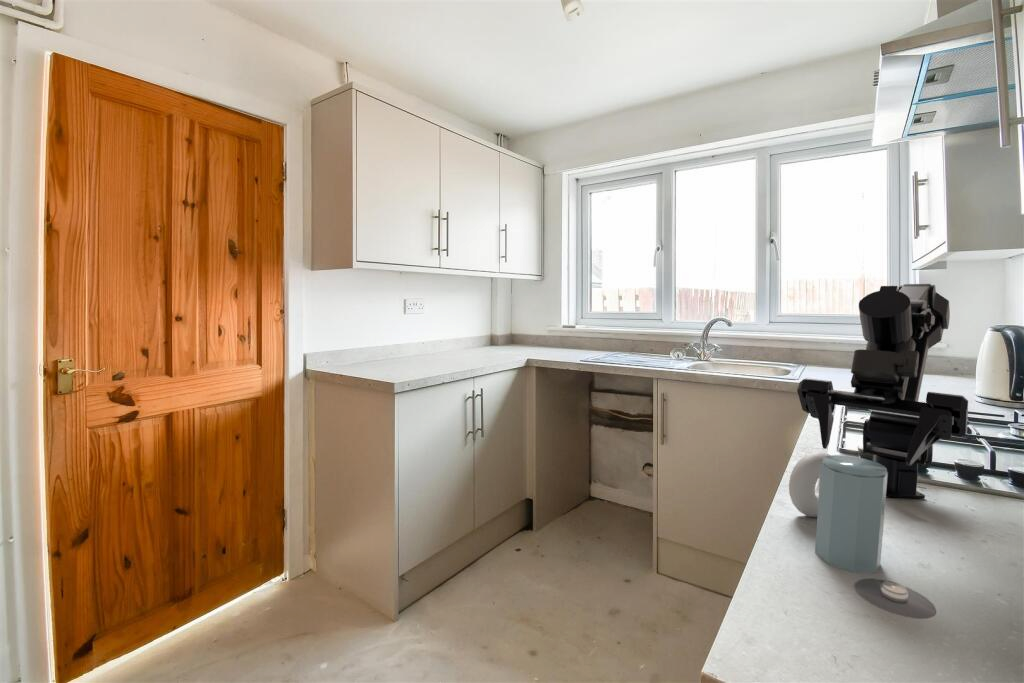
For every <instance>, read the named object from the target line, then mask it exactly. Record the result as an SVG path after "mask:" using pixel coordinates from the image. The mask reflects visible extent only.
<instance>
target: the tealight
mask: <svg viewBox="0 0 1024 683" xmlns="http://www.w3.org/2000/svg"><path fill="white" fill-rule="evenodd" d="M905 587H906V586H905ZM905 587H904V585H903V584H900V583H897V582H895V581H891V580H890V581H889V580H885V581H884V582H883V583H882V584H881V587H880V594H881V596H882V597H884V598H885V599H887V600H889V601H892V602H895V603H899V604H906V603H907V602H908V591H907V589H906V588H905Z"/></svg>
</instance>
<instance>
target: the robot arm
mask: <svg viewBox="0 0 1024 683" xmlns="http://www.w3.org/2000/svg"><path fill="white" fill-rule="evenodd" d="M936 290H937V289H936V285H935V284H931V283H904V284H903V285H902V284H901V285H880V287H879V290H877V291H873V292H870V293H868V294H866V295H865V296H864V297H863V298H862V299H860V300H859V301H858V312H859V319H860V325H861V332H862V336H863V339H864V340H865V341H866V342H867V343H866V347H865V349H855V350H854V351H853V358H852V362H851V363H852V364H851V369H850V373H851V374H852V375H851V376H852V377H851V380H850V386H851V388H853V389H854V390H853V391H844V390H838V389H837V390H836V389H834V386H833V382H832V380H827V379H818V378H817V379H816V378H815V379H814V378H808V377H807V378H806V377H805V378H803V379H802V380H800V381H799V384H798V386H797V390H796V391H797V395H798V399H799V401H800V406H801V409H802V411H803V412H806V413H807V414H809V415H810V416H811V417H812V418H813V419H817V420H818V423H819V430H820V431H819V432H820V440H821V446H822V449H825V450H826V449H827V448H828V446H829V444H830V440H831V434H832V431H833V430H832V429H833V424H834V420H835V419H834V415H833V413H834V411H835V409H836V406H841V407H843V406H844V407H849V408H850V407H851V408H857V409H862V410H863V409H864V410H868V411H871V412H870V415H869V418H865V420H864V423H863V428H862V453H863V454H869V455H872V461H874V462H876V463H879V464H881V465H883V466H885V467H886V469H887V471H886V472H888V477H887V489H886V497H891V498H910V499H911V498H912V499H925V498H926V495H925V494H924V493H922V492H921V491H918V477H919V473H918V468H919V464H920V465H922V466H925V465H926V464H928V465H929V464H933V454H934V453H933V452H934V444H936V443H938V441H940V440H942V439H943V440H950V439H952V436H953V437H954V436H955V437H959V438H960V437H963V436H966V435H967V434H966V433H967V428H968V420H969V419H968V418H969V417H968V416H969V400H968V399H967V397H965V396H964V395H960V394H953V393H942V392H933V391H928V392H927V393H926V398H925V401H924V402H923V401H919V398H920V393H921V388H922V383H923V378H924V372H925V368H926V367H925V366H926V363H927V358H928V352H929V349H930V348H932V347H934V346H935V345H937V344H938V343H940V342H941V341H942V339H943V333H944V330H949V326H950V318H951V317H950V316H951V315H950V314H951V311H950V309H951V308H950V300H948V299H947V298H946V297H944V296H942V295H941V294H940V293H938V292H937V291H936Z"/></svg>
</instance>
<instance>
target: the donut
mask: <svg viewBox="0 0 1024 683" xmlns="http://www.w3.org/2000/svg"><path fill="white" fill-rule="evenodd" d="M830 455H831V454H829V453H827V452H823V451H812V452H810V453H808V454H805V455H804V456H802V457H801V458H800V459H799V460H798V461H797V462H796V464H795V465H794V466H793V468H792V470H791V472H790V475H789V480H788V493H789V497H790V500H791V503H792V505H793V506H794V507H795V508H796V510H797V512H799V513H800V514H802V515H805V516H807V517H809V518H817V515H818V501H819V487H820V472H821V464H822V463H823V459H824V457H826V456H830ZM816 484H817V486H816Z"/></svg>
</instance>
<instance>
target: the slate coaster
mask: <svg viewBox="0 0 1024 683" xmlns="http://www.w3.org/2000/svg"><path fill="white" fill-rule="evenodd" d="M884 581H886V580H884V579H880V578H862V579H859V580H857V581H856V582H855V583H854V589H855V591H856V593H858V595H859V596H860V597H862V599H864V600H865V601H867V602H868V603H870V604H872V605H873V606H876V607H877V608H879V609H881V610H883V611H886V612H889V613H891V614H895V615H897V616H901V617H906V618H911V619H928V618H932V617H934V616H935V614H936V613H937V609H936V606H935V604H933V602H932V601H930V600H929V599H928V598H927V597H926V596H924V595H923V594H921V593H919V592H918V591H916V590H914V589H912V588H910V587H907V586H904V585H903V586H904V587H905V588H906V589H907V591H908V602H907V603H906V604H899V603H895V602H892V601H889V600H887V599H885V598H884V597H882V596H881V594H880V587H881V584H882V583H883V582H884Z"/></svg>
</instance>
